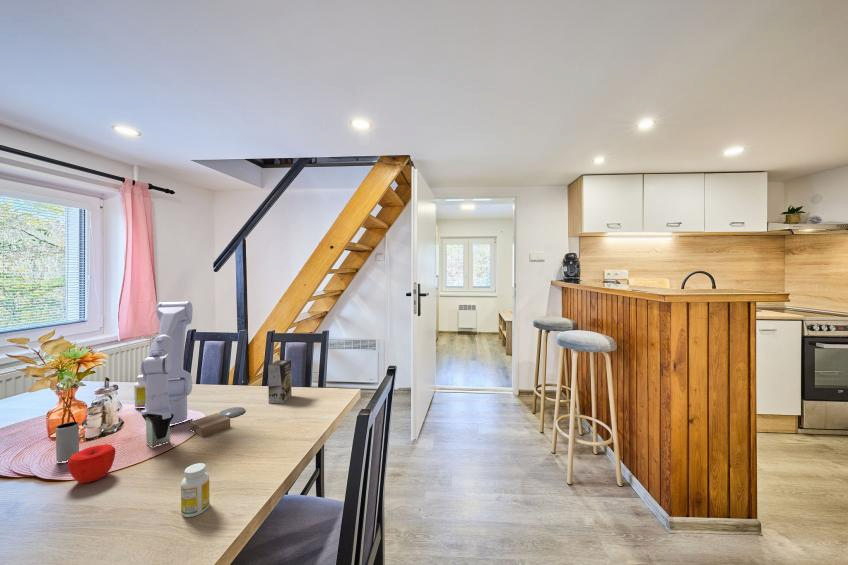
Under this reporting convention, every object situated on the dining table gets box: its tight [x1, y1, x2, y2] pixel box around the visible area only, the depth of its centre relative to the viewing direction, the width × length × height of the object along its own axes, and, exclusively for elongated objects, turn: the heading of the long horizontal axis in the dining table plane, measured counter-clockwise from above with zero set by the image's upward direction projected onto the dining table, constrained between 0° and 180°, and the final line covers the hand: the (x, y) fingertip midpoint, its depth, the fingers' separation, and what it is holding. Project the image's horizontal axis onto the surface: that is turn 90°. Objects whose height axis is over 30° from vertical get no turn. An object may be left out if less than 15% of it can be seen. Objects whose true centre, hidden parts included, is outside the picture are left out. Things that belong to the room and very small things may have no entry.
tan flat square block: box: [189, 412, 231, 438], centre depth 117 cm, size 9×9×3 cm
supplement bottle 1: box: [133, 374, 146, 408], centre depth 138 cm, size 7×7×13 cm
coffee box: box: [267, 359, 293, 404], centre depth 144 cm, size 9×6×16 cm
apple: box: [67, 443, 116, 484], centre depth 88 cm, size 9×9×8 cm
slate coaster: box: [218, 406, 246, 419], centre depth 130 cm, size 9×9×1 cm
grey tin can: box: [55, 421, 80, 462], centre depth 97 cm, size 4×4×10 cm
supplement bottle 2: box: [180, 462, 210, 518], centre depth 76 cm, size 5×5×10 cm
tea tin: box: [145, 414, 171, 447], centre depth 107 cm, size 5×5×9 cm
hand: (158, 436), depth 107 cm, fingers closed on tea tin, 5 cm apart
